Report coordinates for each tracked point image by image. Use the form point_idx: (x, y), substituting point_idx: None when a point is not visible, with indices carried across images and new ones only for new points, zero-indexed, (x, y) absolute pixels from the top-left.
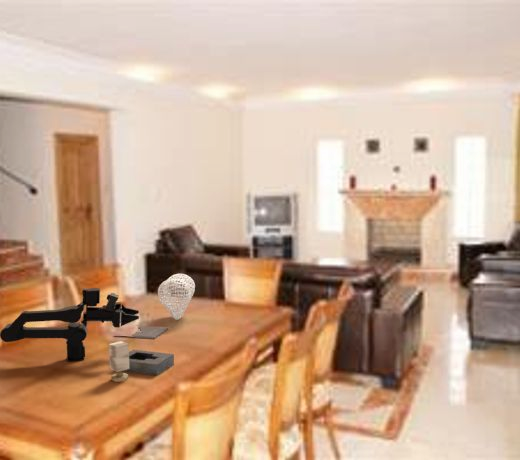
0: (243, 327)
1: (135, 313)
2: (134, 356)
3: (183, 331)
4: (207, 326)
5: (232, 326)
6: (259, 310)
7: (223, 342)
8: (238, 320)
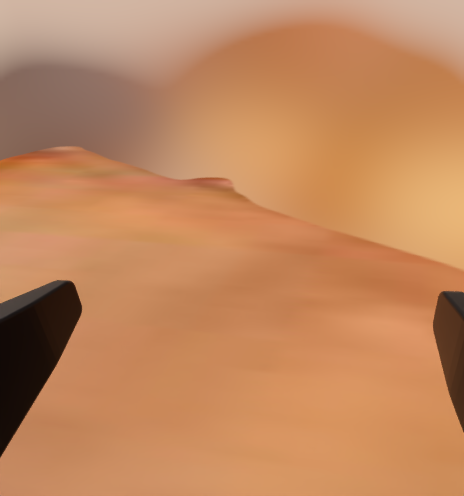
0: (120, 187)
1: (57, 343)
2: None
3: (12, 287)
4: (32, 234)
5: (91, 199)
6: (20, 166)
7: (230, 221)
8: (52, 189)
